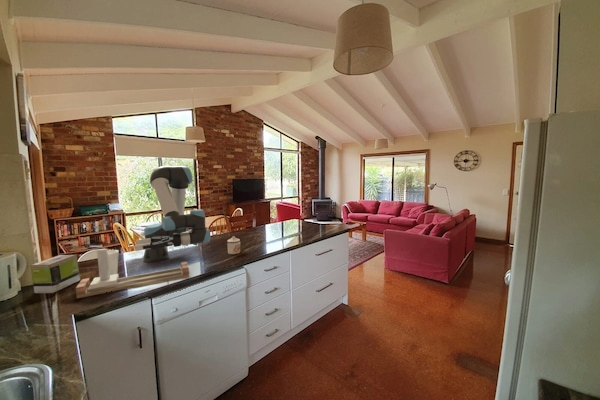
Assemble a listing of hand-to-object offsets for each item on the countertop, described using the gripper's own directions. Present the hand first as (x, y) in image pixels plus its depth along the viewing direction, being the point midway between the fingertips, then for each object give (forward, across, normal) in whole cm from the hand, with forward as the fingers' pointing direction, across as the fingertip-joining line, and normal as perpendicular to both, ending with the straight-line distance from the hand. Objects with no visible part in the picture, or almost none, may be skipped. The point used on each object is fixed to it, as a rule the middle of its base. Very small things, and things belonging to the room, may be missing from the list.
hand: (135, 245), depth 131 cm
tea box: (+36, +18, -20) cm, 45 cm away
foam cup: (+15, +23, -20) cm, 34 cm away
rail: (0, +1, -20) cm, 20 cm away
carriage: (+14, +1, -17) cm, 22 cm away
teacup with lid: (-58, +26, -20) cm, 67 cm away
